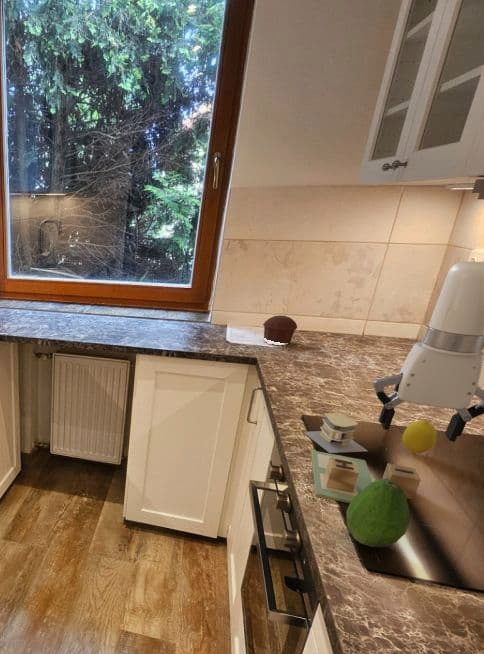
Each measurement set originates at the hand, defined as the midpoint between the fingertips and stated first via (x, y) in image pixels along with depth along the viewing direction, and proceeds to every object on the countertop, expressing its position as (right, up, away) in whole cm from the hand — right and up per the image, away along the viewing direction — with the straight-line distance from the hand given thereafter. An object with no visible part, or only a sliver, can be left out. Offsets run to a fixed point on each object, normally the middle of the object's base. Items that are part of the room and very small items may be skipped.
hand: (416, 432), depth 85 cm
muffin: (+23, +29, +94) cm, 101 cm away
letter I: (0, -11, +5) cm, 13 cm away
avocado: (-14, -18, -8) cm, 24 cm away
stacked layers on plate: (0, -3, +23) cm, 23 cm away
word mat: (-7, -10, +9) cm, 15 cm away
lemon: (+14, -6, +18) cm, 23 cm away
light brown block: (-10, -10, +6) cm, 16 cm away
